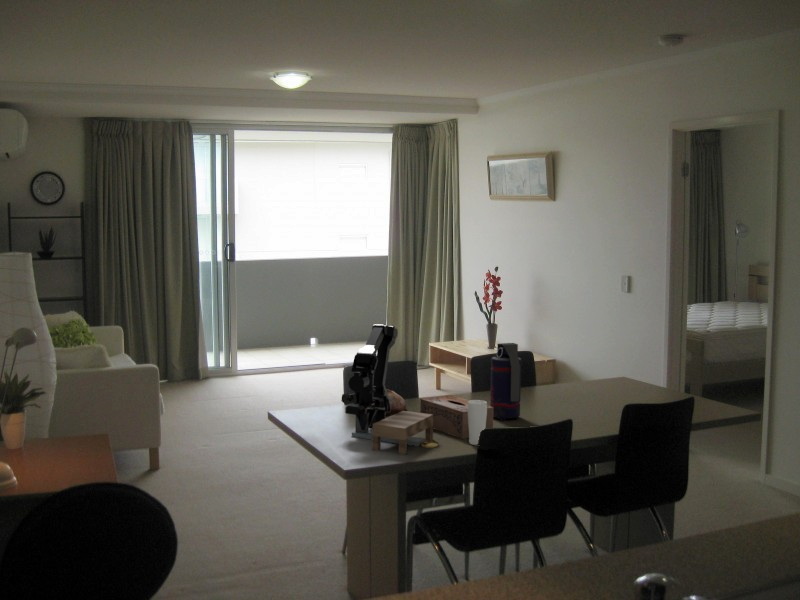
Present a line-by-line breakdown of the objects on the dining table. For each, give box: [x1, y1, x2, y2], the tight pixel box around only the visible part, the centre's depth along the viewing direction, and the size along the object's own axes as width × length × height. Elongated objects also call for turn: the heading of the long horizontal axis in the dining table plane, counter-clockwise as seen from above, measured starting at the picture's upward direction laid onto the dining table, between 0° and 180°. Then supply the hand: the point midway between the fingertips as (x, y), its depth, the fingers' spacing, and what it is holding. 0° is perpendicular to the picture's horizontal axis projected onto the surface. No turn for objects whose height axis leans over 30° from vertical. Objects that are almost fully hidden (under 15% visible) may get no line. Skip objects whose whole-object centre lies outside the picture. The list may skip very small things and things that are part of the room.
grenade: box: [489, 342, 522, 421], centre depth 329 cm, size 14×12×30 cm
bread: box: [386, 389, 407, 416], centre depth 340 cm, size 16×20×10 cm
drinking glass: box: [468, 399, 488, 446], centre depth 291 cm, size 7×7×15 cm
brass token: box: [420, 439, 439, 449], centre depth 289 cm, size 6×6×1 cm
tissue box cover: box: [419, 394, 494, 439], centre depth 313 cm, size 26×14×10 cm, turn 35°
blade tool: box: [351, 415, 426, 447], centre depth 295 cm, size 6×26×8 cm, turn 63°
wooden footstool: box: [371, 410, 434, 456], centre depth 289 cm, size 23×12×9 cm, turn 153°
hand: (365, 429), depth 300 cm, fingers closed on blade tool, 2 cm apart
